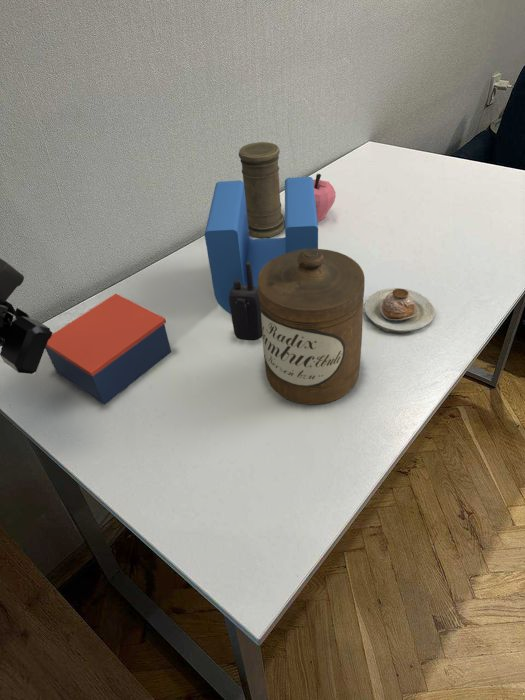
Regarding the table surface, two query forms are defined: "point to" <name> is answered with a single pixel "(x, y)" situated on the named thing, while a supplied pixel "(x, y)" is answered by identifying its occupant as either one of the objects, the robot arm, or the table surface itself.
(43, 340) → the robot arm
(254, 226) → the container
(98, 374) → the box
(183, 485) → the table surface
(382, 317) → the pastry
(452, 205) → the table surface
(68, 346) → the lid
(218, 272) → the block
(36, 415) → the table surface
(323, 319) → the wooden container
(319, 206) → the apple
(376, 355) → the table surface
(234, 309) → the two-way radio
